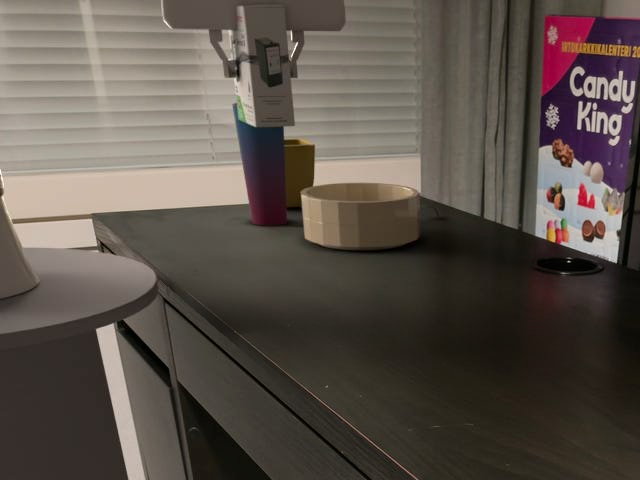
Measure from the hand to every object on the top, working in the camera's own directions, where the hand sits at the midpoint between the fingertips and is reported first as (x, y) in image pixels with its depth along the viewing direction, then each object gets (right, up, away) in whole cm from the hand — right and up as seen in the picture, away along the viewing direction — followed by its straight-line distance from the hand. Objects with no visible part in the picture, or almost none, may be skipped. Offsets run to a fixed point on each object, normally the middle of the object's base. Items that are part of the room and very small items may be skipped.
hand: (261, 77), depth 107 cm
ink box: (0, -4, +3) cm, 5 cm away
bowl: (+9, -11, +18) cm, 23 cm away
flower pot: (-5, +3, +38) cm, 39 cm away
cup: (-5, -5, +27) cm, 28 cm away
